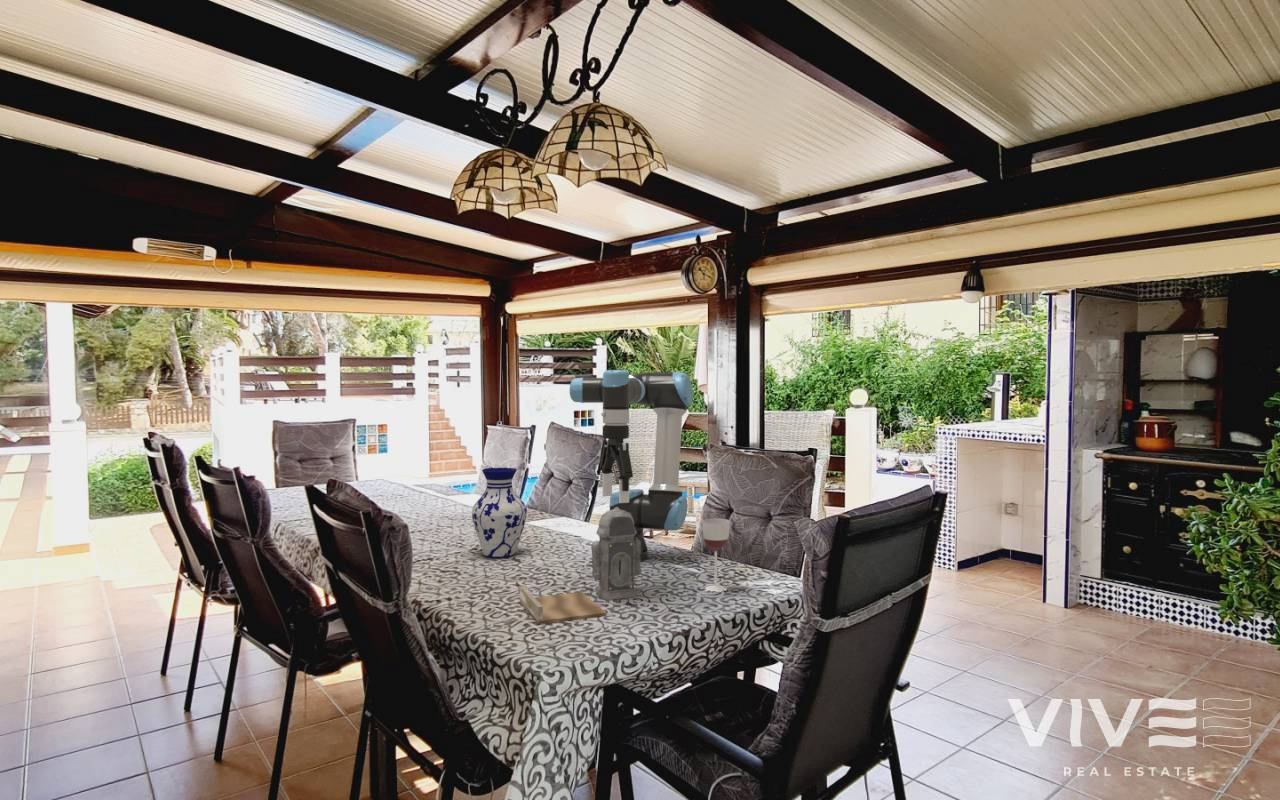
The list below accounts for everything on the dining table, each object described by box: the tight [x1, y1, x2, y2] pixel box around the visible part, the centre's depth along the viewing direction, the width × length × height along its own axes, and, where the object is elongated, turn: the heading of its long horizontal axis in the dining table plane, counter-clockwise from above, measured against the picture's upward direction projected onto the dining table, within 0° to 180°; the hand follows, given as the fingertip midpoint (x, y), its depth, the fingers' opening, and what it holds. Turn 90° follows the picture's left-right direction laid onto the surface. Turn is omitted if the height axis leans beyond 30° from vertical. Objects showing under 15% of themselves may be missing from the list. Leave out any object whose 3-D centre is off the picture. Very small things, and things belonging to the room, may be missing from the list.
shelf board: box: [519, 585, 607, 625], centre depth 192 cm, size 18×20×4 cm
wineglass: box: [701, 517, 730, 593], centre depth 211 cm, size 8×9×20 cm
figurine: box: [591, 507, 642, 601], centre depth 206 cm, size 10×14×25 cm
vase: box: [471, 467, 528, 559], centre depth 253 cm, size 19×19×30 cm
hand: (615, 499), depth 205 cm, fingers open, 13 cm apart
